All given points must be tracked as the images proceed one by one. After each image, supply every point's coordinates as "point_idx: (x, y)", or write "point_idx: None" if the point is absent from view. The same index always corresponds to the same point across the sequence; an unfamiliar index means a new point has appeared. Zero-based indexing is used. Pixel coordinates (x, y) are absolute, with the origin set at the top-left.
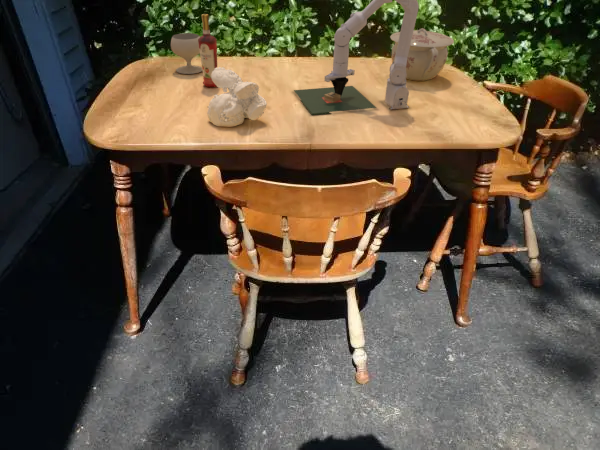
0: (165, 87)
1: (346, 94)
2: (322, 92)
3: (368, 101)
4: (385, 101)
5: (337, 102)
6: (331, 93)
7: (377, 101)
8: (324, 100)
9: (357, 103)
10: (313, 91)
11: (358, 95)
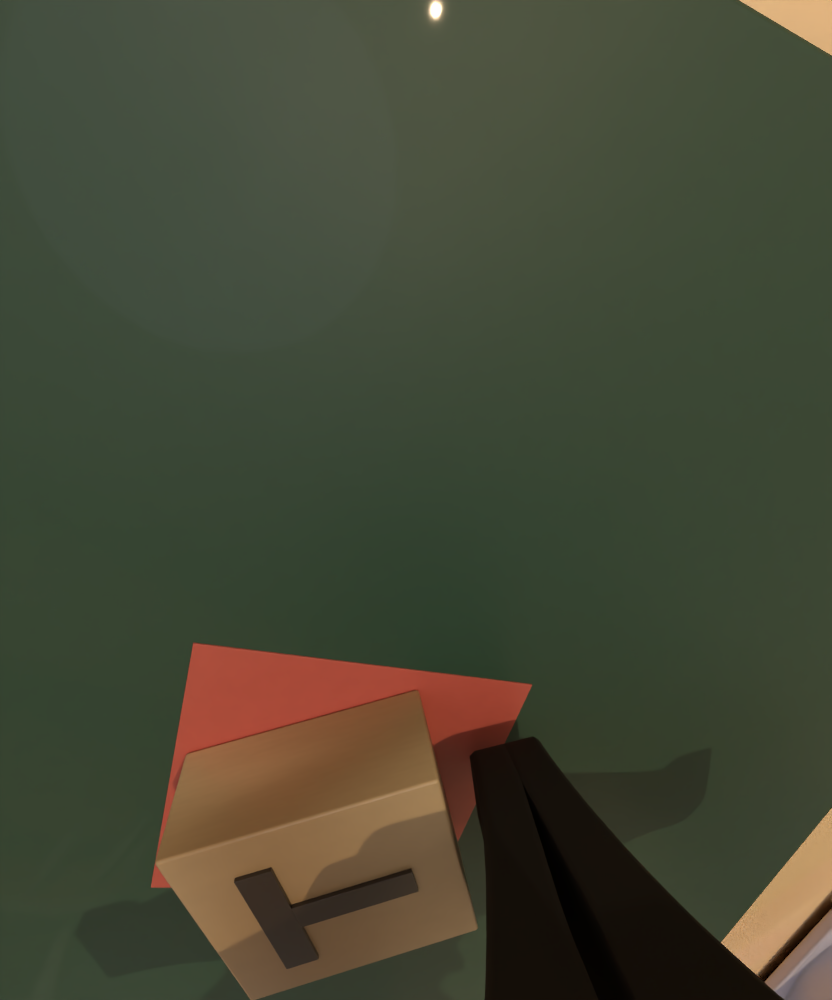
0: None
1: (732, 665)
2: (402, 358)
3: (723, 925)
4: (827, 988)
5: None
6: (368, 840)
7: (829, 870)
8: (167, 791)
9: None
10: (179, 106)
11: (822, 753)
